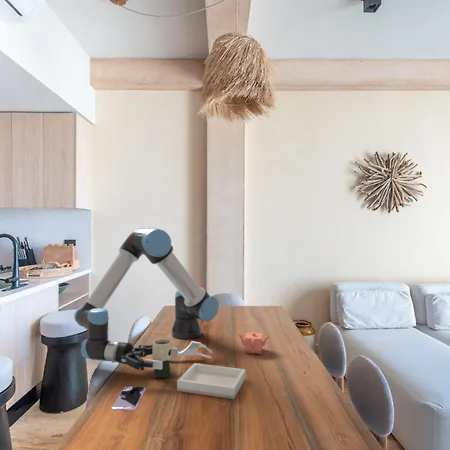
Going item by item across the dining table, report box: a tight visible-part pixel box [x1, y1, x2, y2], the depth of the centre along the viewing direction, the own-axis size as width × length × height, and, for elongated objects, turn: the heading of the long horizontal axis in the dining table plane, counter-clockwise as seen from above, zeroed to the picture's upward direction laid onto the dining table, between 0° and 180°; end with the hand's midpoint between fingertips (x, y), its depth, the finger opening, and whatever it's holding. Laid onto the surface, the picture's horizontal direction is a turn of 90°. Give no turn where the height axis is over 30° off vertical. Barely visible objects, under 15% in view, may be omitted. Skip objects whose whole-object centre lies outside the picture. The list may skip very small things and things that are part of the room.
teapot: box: [236, 331, 271, 355], centre depth 161 cm, size 12×15×8 cm
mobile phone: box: [111, 385, 146, 411], centre depth 117 cm, size 8×1×15 cm
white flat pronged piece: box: [169, 340, 214, 362], centre depth 151 cm, size 2×11×18 cm
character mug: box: [152, 338, 173, 379], centre depth 134 cm, size 11×7×13 cm, turn 8°
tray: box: [176, 362, 247, 400], centre depth 127 cm, size 16×20×4 cm
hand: (170, 358), depth 133 cm, fingers open, 13 cm apart
